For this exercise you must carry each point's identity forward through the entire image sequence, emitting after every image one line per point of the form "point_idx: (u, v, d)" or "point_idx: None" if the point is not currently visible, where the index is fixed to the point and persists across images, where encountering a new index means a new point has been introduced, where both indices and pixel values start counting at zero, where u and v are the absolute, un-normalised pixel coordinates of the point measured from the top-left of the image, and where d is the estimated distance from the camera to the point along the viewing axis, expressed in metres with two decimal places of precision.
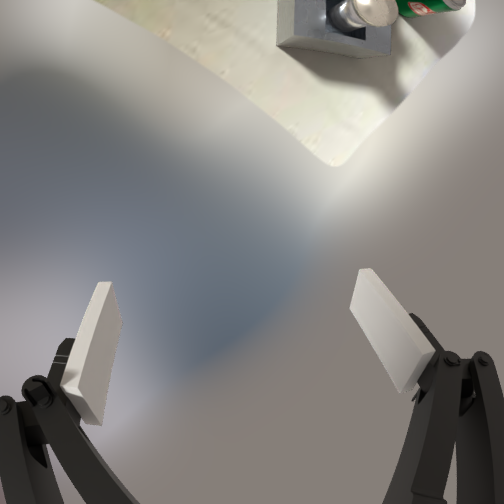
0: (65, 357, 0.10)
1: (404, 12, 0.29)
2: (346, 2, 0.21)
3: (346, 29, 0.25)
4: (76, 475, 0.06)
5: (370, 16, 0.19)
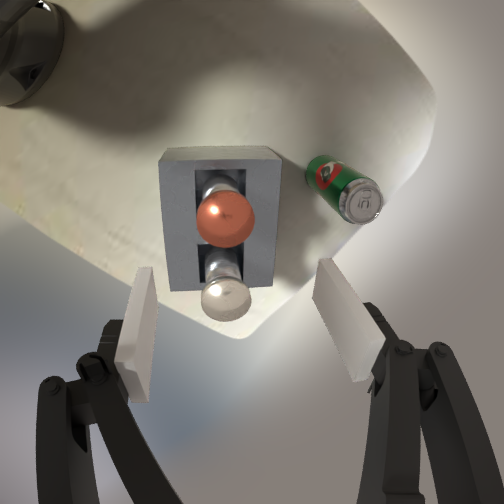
0: (112, 337, 0.12)
1: None
2: (206, 279, 0.30)
3: None
4: (118, 454, 0.07)
5: (218, 316, 0.29)
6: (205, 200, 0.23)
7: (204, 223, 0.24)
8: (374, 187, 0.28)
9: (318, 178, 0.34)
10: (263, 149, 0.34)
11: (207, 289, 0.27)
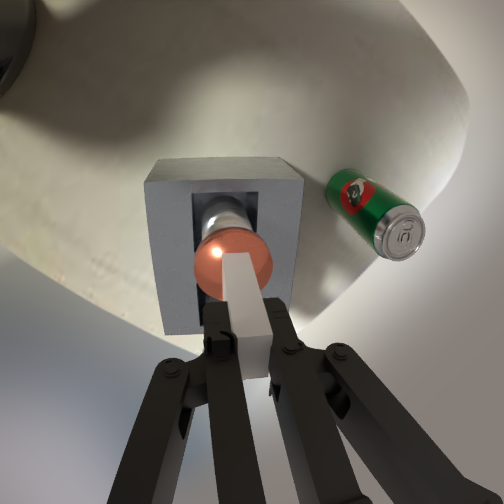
0: (215, 318, 0.13)
1: None
2: None
3: None
4: (219, 429, 0.08)
5: None
6: (206, 242, 0.17)
7: (205, 272, 0.18)
8: (417, 216, 0.21)
9: (344, 199, 0.28)
10: (277, 162, 0.28)
11: None
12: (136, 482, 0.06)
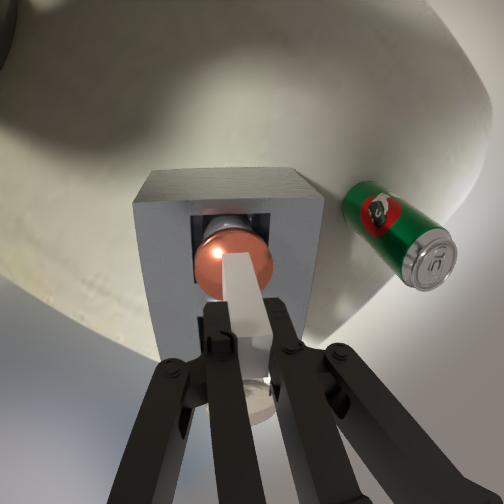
0: (215, 317, 0.13)
1: None
2: None
3: None
4: (219, 429, 0.08)
5: None
6: (206, 243, 0.17)
7: (205, 273, 0.18)
8: (450, 242, 0.18)
9: (365, 217, 0.24)
10: (289, 174, 0.24)
11: None
12: (136, 482, 0.06)
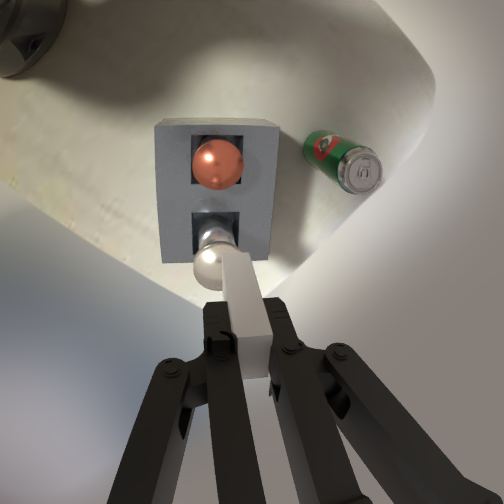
0: (215, 318, 0.13)
1: None
2: (199, 246, 0.29)
3: None
4: (219, 429, 0.08)
5: (211, 284, 0.27)
6: (201, 146, 0.26)
7: (199, 167, 0.26)
8: (373, 156, 0.27)
9: (316, 150, 0.33)
10: (261, 120, 0.33)
11: (200, 254, 0.26)
12: (136, 482, 0.06)
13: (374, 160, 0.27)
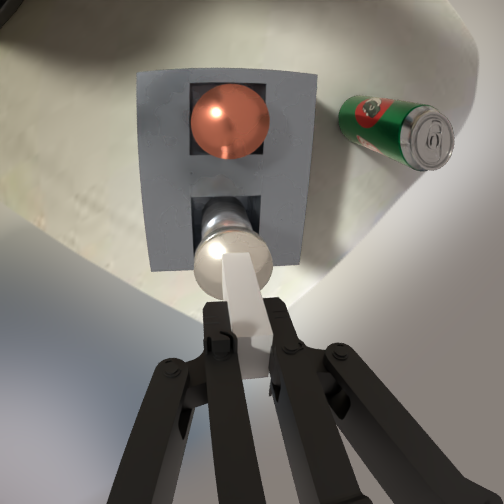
0: (215, 318, 0.13)
1: (354, 141, 0.27)
2: (202, 237, 0.20)
3: None
4: (219, 429, 0.08)
5: (220, 292, 0.18)
6: None
7: (201, 123, 0.16)
8: (444, 119, 0.17)
9: (360, 115, 0.23)
10: None
11: (204, 246, 0.17)
12: (136, 482, 0.06)
13: (445, 124, 0.17)
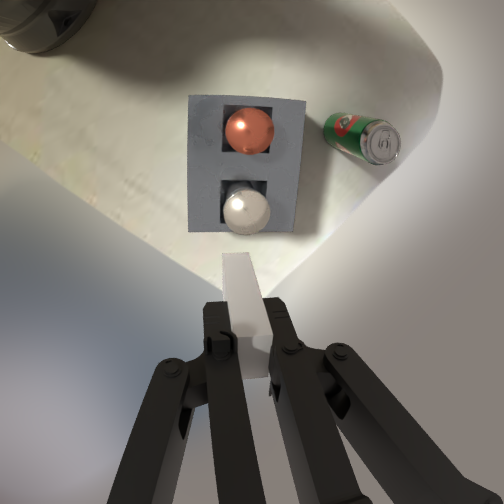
0: (215, 318, 0.13)
1: (334, 146, 0.38)
2: (227, 198, 0.33)
3: None
4: (219, 429, 0.08)
5: (238, 228, 0.31)
6: (234, 113, 0.27)
7: (232, 131, 0.27)
8: (392, 128, 0.27)
9: (337, 127, 0.34)
10: None
11: (230, 198, 0.29)
12: (136, 482, 0.06)
13: (393, 132, 0.28)
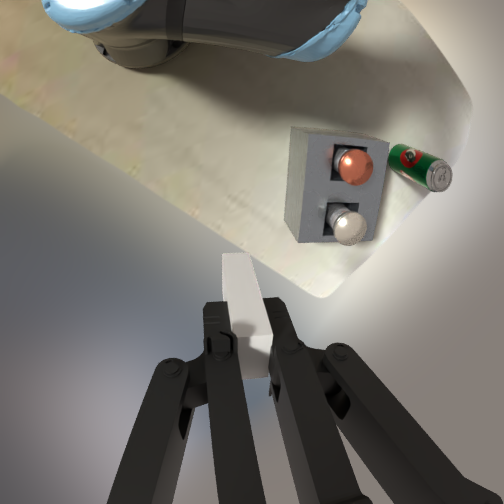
0: (215, 318, 0.13)
1: (396, 171, 0.46)
2: (330, 216, 0.41)
3: None
4: (219, 429, 0.08)
5: (344, 241, 0.39)
6: (347, 153, 0.35)
7: (345, 168, 0.35)
8: (448, 166, 0.36)
9: (403, 159, 0.42)
10: (365, 135, 0.42)
11: (341, 218, 0.38)
12: (136, 482, 0.06)
13: (448, 169, 0.36)
